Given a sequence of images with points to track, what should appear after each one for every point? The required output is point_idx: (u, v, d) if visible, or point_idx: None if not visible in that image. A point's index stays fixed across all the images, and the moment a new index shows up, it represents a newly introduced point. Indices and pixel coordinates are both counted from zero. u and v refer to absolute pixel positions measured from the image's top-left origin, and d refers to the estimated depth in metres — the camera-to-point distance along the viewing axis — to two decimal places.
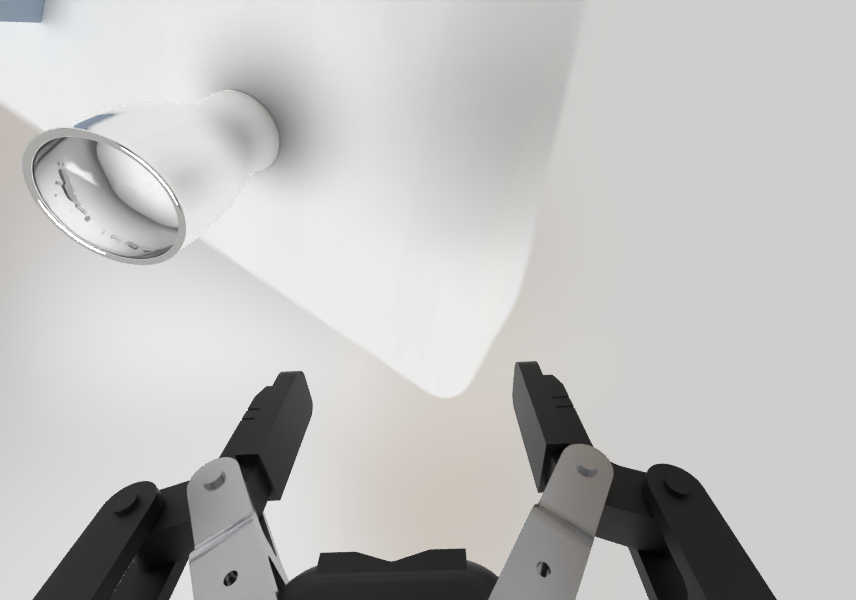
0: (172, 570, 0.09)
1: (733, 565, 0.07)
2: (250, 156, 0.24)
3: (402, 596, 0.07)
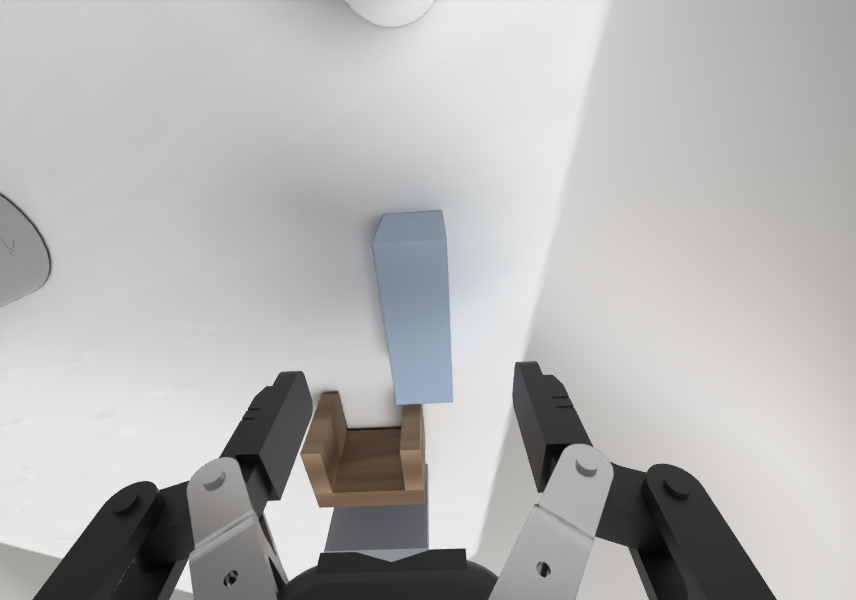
0: (172, 570, 0.09)
1: (733, 565, 0.07)
2: None
3: (402, 596, 0.07)
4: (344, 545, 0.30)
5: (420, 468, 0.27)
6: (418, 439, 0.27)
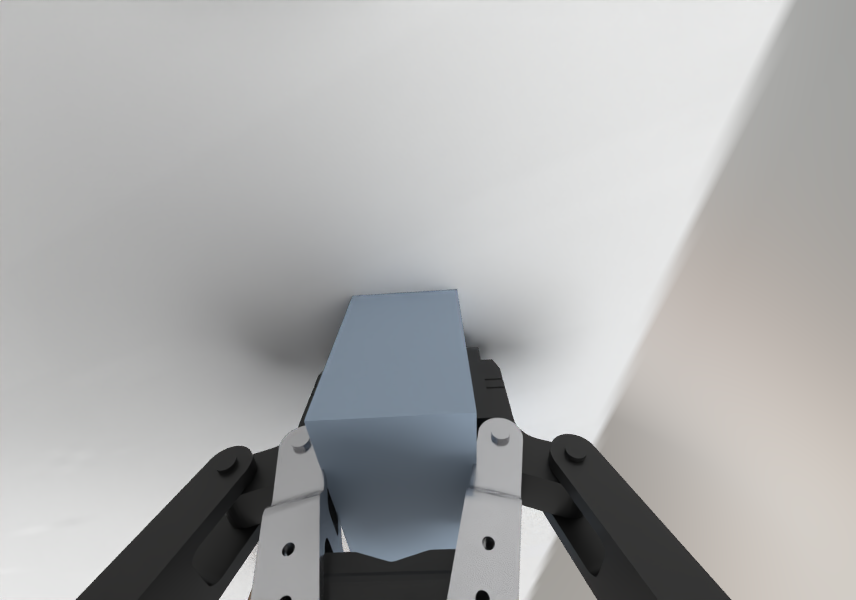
0: (252, 535, 0.09)
1: (630, 508, 0.08)
2: None
3: (402, 596, 0.07)
4: None
5: None
6: None
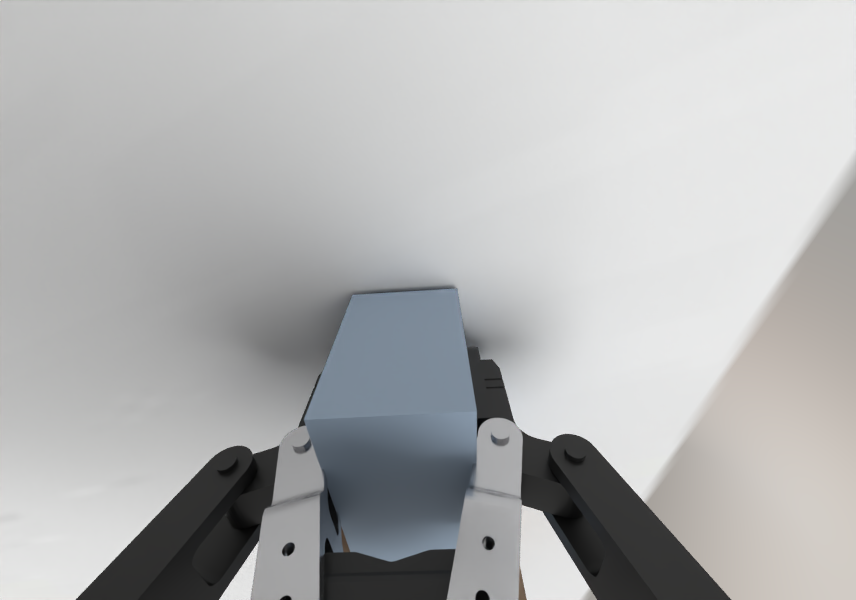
0: (252, 535, 0.09)
1: (630, 507, 0.08)
2: None
3: (402, 596, 0.07)
4: None
5: None
6: None
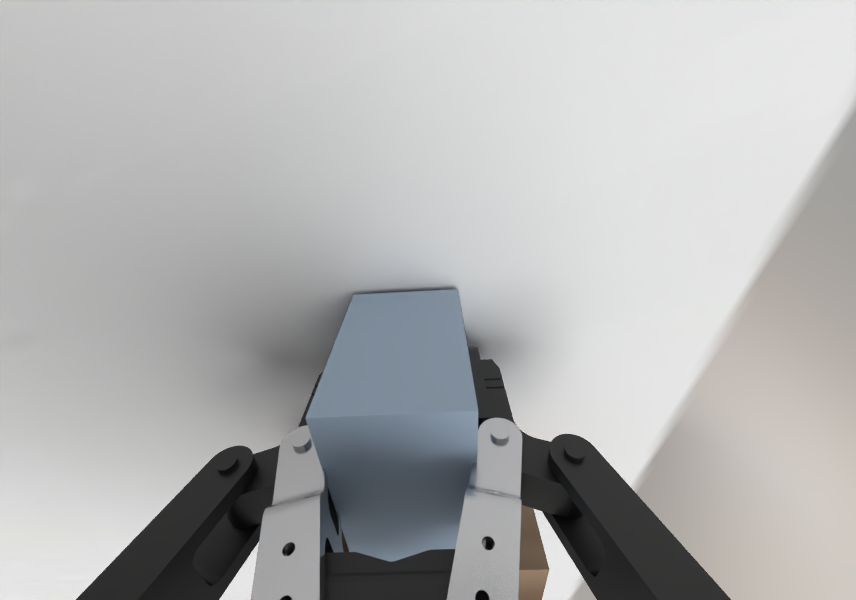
0: (252, 535, 0.09)
1: (630, 507, 0.08)
2: None
3: (402, 596, 0.07)
4: None
5: None
6: (537, 538, 0.12)
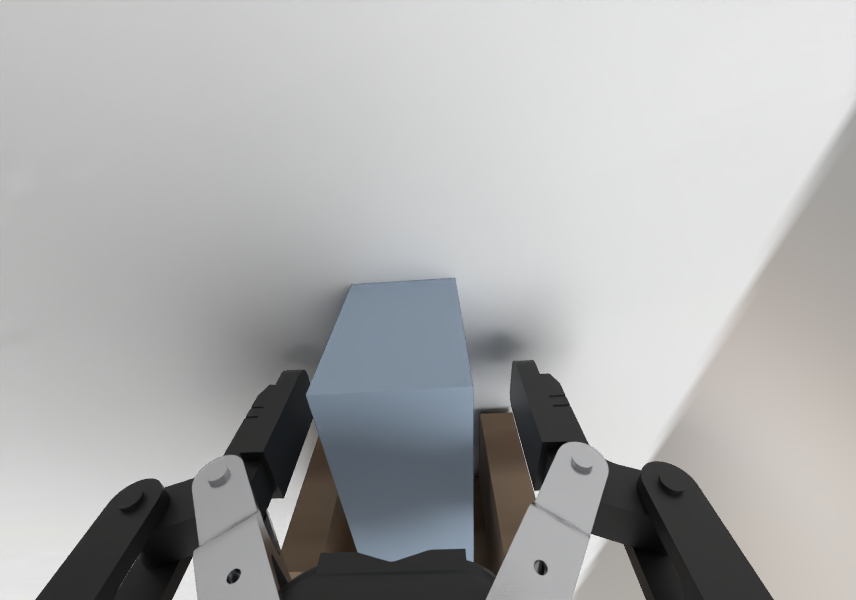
0: (176, 567, 0.09)
1: (727, 561, 0.07)
2: None
3: (402, 596, 0.07)
4: None
5: None
6: None
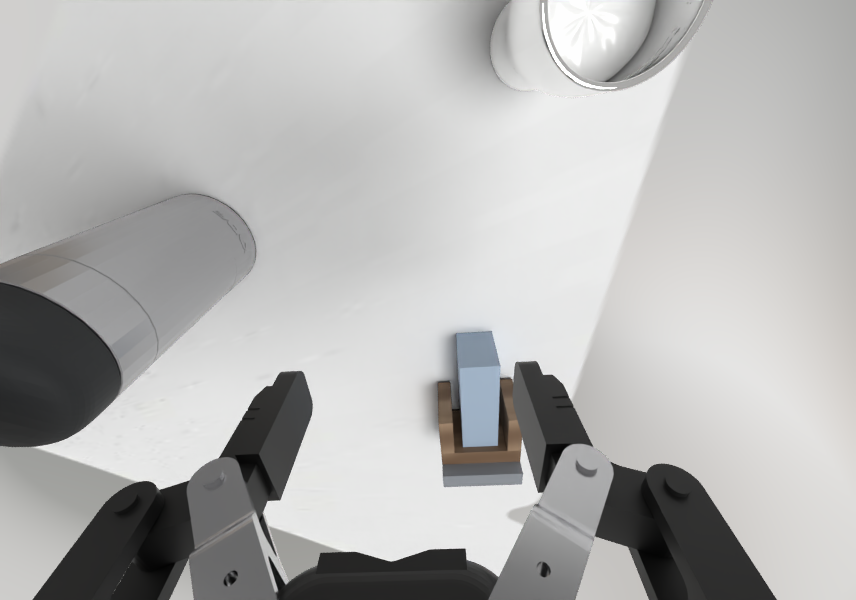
0: (172, 570, 0.09)
1: (733, 565, 0.07)
2: None
3: (402, 596, 0.07)
4: (457, 472, 0.40)
5: (521, 434, 0.38)
6: None
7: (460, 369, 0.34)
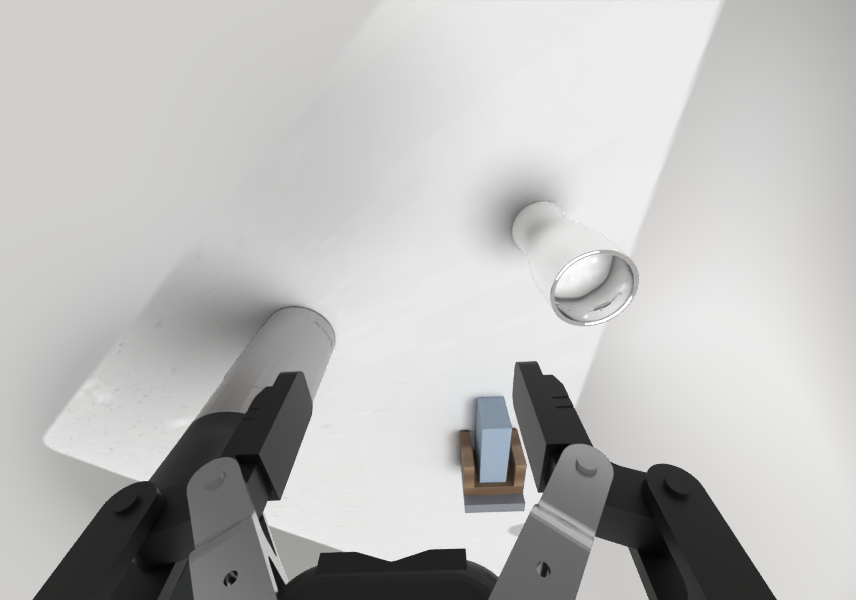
0: (172, 570, 0.09)
1: (733, 565, 0.07)
2: (540, 223, 0.33)
3: (402, 596, 0.07)
4: (475, 502, 0.53)
5: (524, 474, 0.51)
6: (524, 459, 0.51)
7: (483, 430, 0.47)
